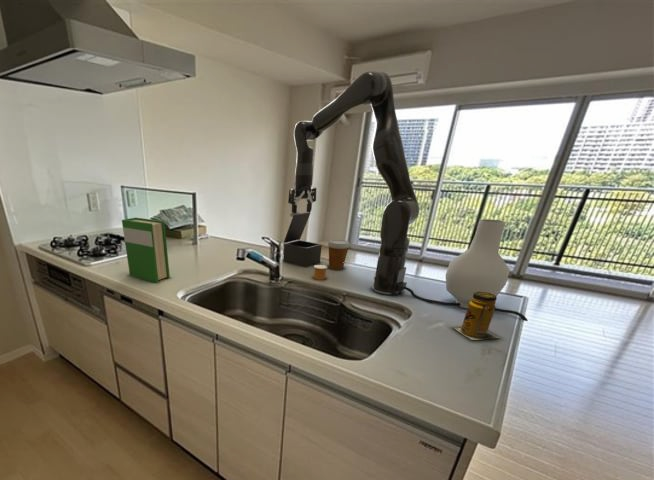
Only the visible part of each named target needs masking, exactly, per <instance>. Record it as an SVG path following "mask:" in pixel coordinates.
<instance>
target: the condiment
mask: <svg viewBox="0 0 654 480" xmlns="http://www.w3.org/2000/svg"><path fill="white" fill-rule="evenodd" d="M497 299H498V297H496V296H495V295H493V294H491V293H486V292H475V293H474V294H473V298H472V301H470V302H469V305H468V308H466V312H465V315H464V318H463V322H462V324H461V327H457V328H456V327H454V328H453V329H454V330H456V331H457V332H458V333H460V334H461V335H463V336H464V337H466V338H467V339H469V340H471V341H478V340H480V341H481V340H491V339H492V340H493V339H501V337H500V336H497V335H495V334H493V333H492V332H490V331H488V330H489V328H490V324H491V322H492V319H493V316H494V314H495V312H496V311H495V308H496V302H497Z"/></svg>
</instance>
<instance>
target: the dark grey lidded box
mask: <svg viewBox="0 0 654 480" xmlns="http://www.w3.org/2000/svg"><path fill="white" fill-rule="evenodd" d="M283 243H284V242H283ZM322 245H323V244H321V243H317V242H312V241H308V240H301V239H299V240H295V241H291V242H287V243H284V244H283V255H284V259H283V258H282V261H283V262H284V263H289V264H292V265H296V266H299V267H304V268H306V267H309V266H314V265H317V264H319V263H321V258H322V257H321V255H322Z"/></svg>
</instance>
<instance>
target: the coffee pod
mask: <svg viewBox="0 0 654 480" xmlns="http://www.w3.org/2000/svg"><path fill="white" fill-rule="evenodd" d="M313 268H314V273H313V279H315V280H317V281H324V280H325V279H326V275H327V269H328V266H327V265H325V264H314V265H313Z"/></svg>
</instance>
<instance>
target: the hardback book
mask: <svg viewBox="0 0 654 480" xmlns="http://www.w3.org/2000/svg"><path fill="white" fill-rule="evenodd" d="M121 224H122V225H121V226H122V232H123V238H124V239H123V240H124V246H125V251H126V252H125V253H126V259H127V264H128V272H129V276H130V277H134V278H138V279H141V280H145V281H149V282H152V283H157V284H158V283H160V282H159V280H160V281H161V280H162V279H170V278H171V275H170V265H169V254H168V245H167V236H166V235H167V234H166V225H165V224H166V223H165V220H158V219H151V218H150V219H149V218H144V217H131V218H125V219H124V218H123V219H121Z"/></svg>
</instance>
